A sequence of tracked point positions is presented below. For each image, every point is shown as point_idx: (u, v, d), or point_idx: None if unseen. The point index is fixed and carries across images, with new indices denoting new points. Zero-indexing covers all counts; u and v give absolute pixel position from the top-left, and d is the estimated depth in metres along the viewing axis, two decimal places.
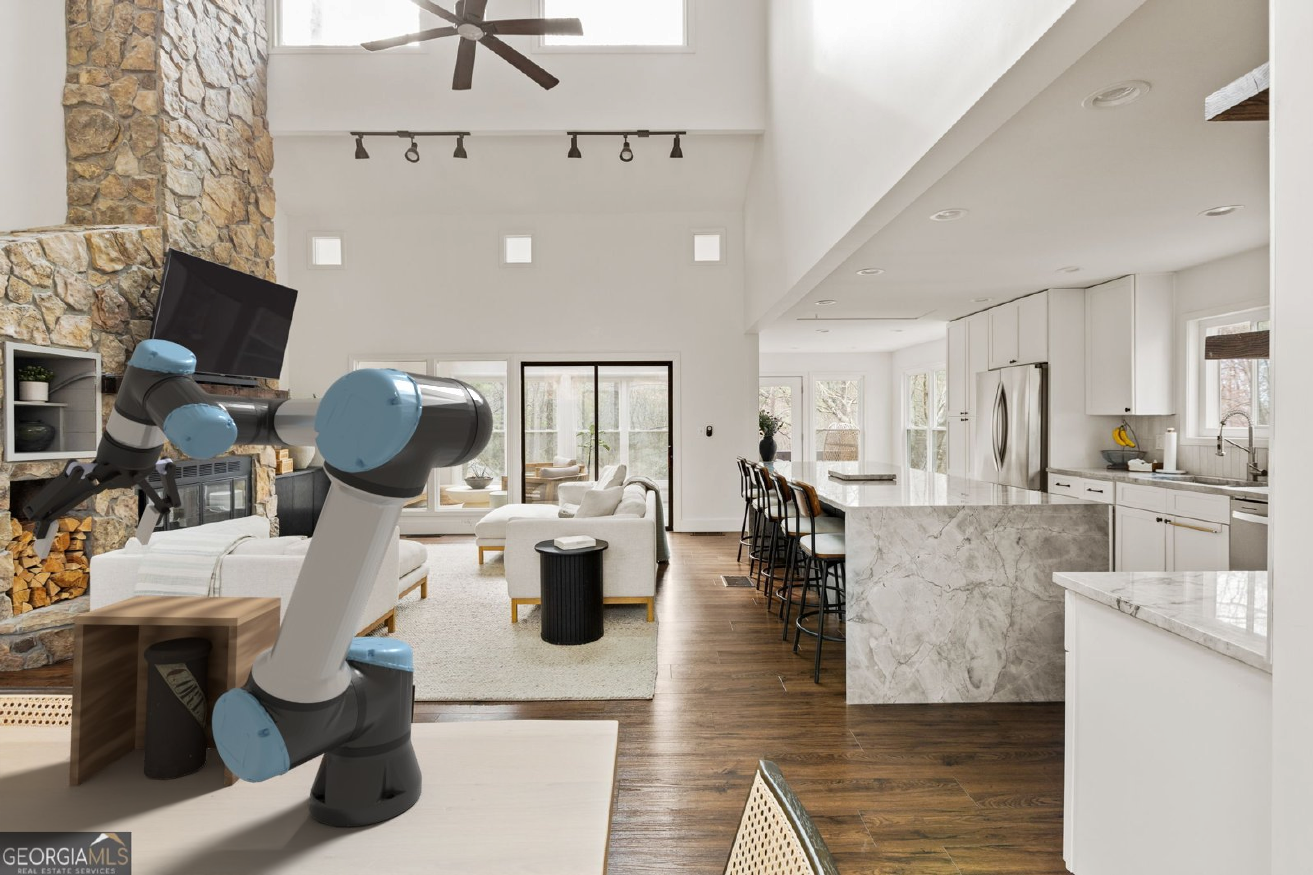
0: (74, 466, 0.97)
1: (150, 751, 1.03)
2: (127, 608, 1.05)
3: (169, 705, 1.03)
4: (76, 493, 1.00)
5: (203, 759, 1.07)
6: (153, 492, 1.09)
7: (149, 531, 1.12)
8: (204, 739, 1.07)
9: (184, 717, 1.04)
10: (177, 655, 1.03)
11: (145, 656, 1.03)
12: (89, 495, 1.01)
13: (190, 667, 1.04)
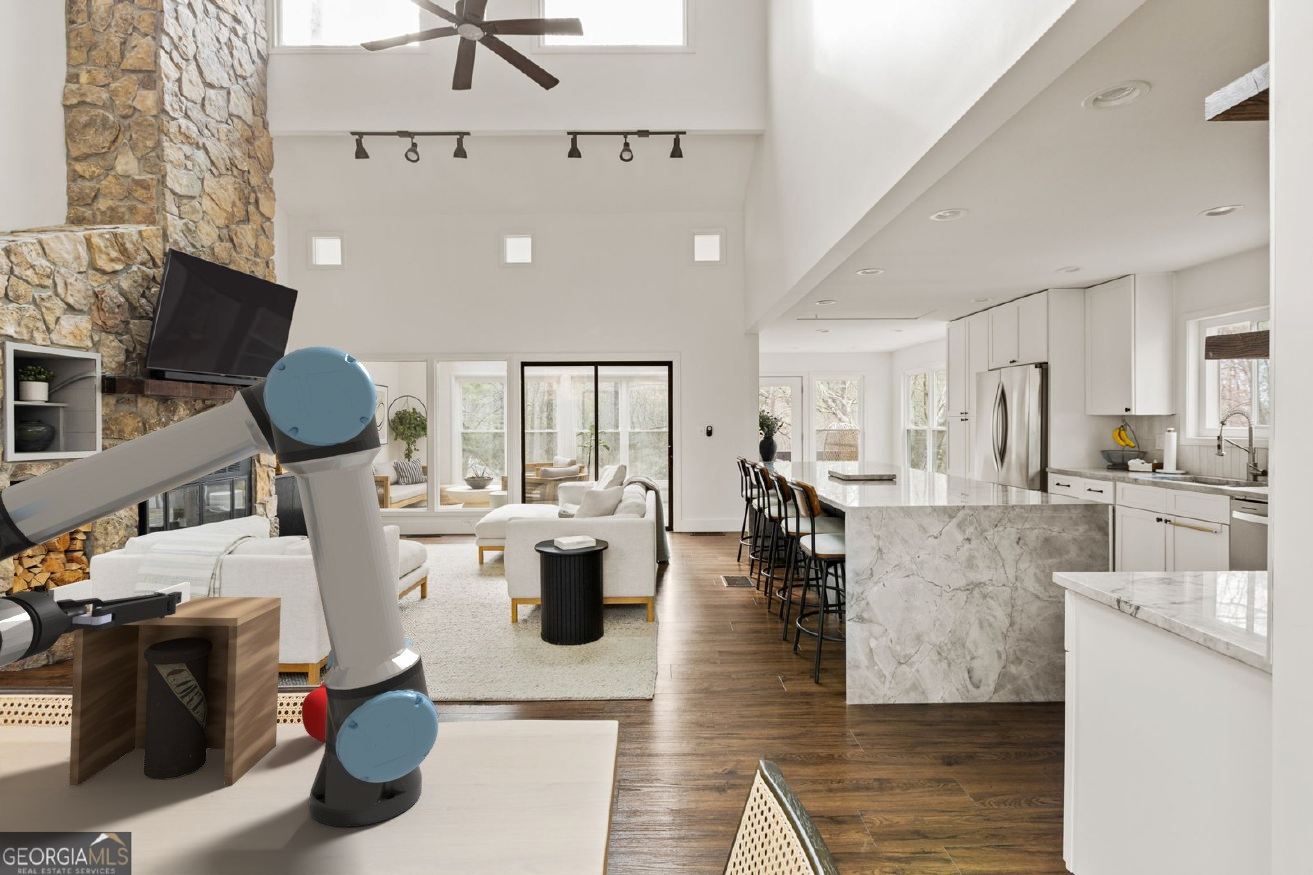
0: (98, 617, 0.81)
1: (150, 751, 1.03)
2: None
3: (169, 705, 1.03)
4: None
5: (203, 759, 1.07)
6: None
7: (74, 583, 0.94)
8: (204, 739, 1.07)
9: (184, 717, 1.04)
10: (177, 655, 1.03)
11: (145, 656, 1.03)
12: (106, 600, 0.86)
13: (190, 667, 1.04)
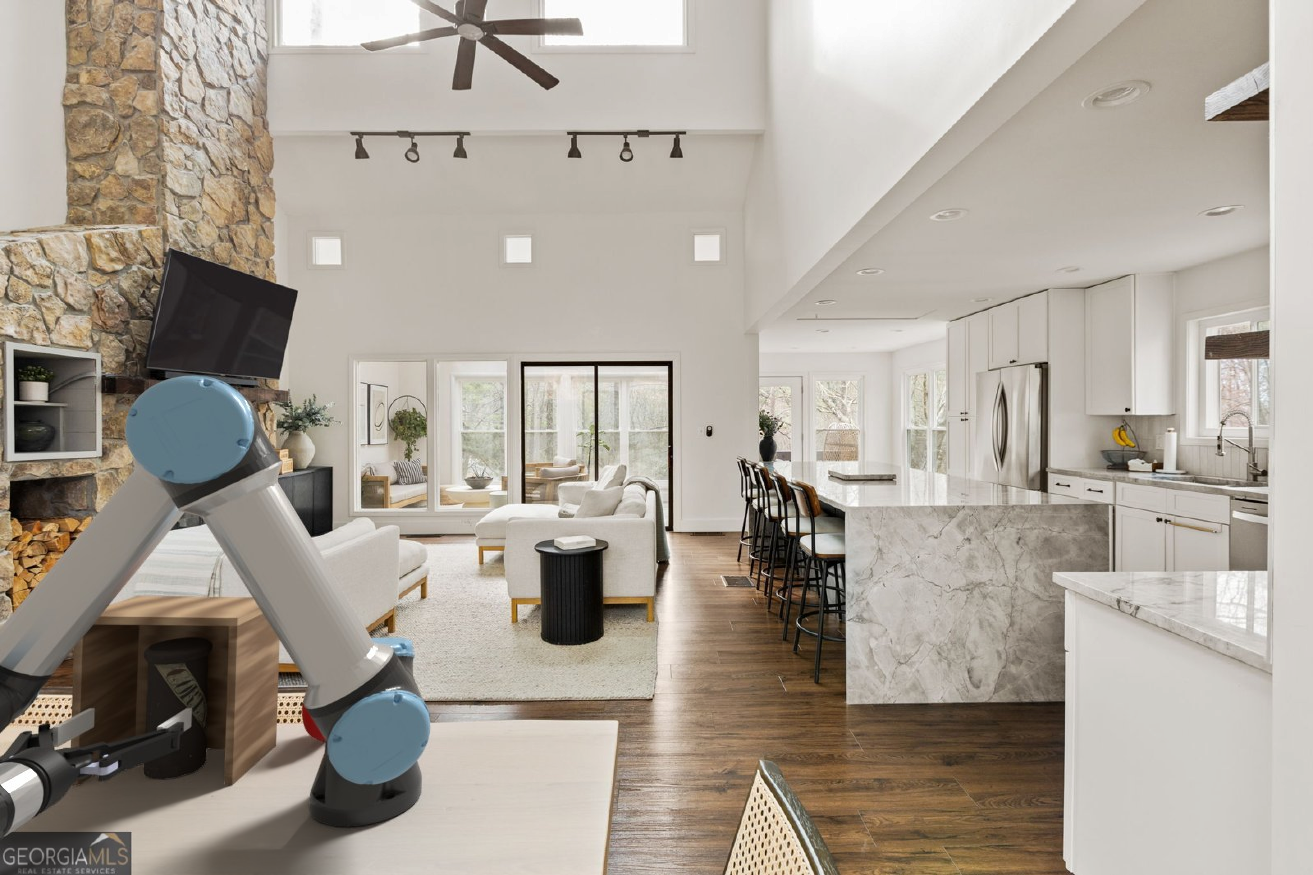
0: (106, 767, 0.83)
1: None
2: (127, 608, 1.05)
3: (169, 705, 1.03)
4: (122, 749, 0.88)
5: (203, 759, 1.07)
6: (42, 742, 0.88)
7: (77, 716, 0.96)
8: (204, 739, 1.07)
9: None
10: (176, 655, 1.03)
11: (145, 656, 1.03)
12: (111, 743, 0.88)
13: (190, 667, 1.04)
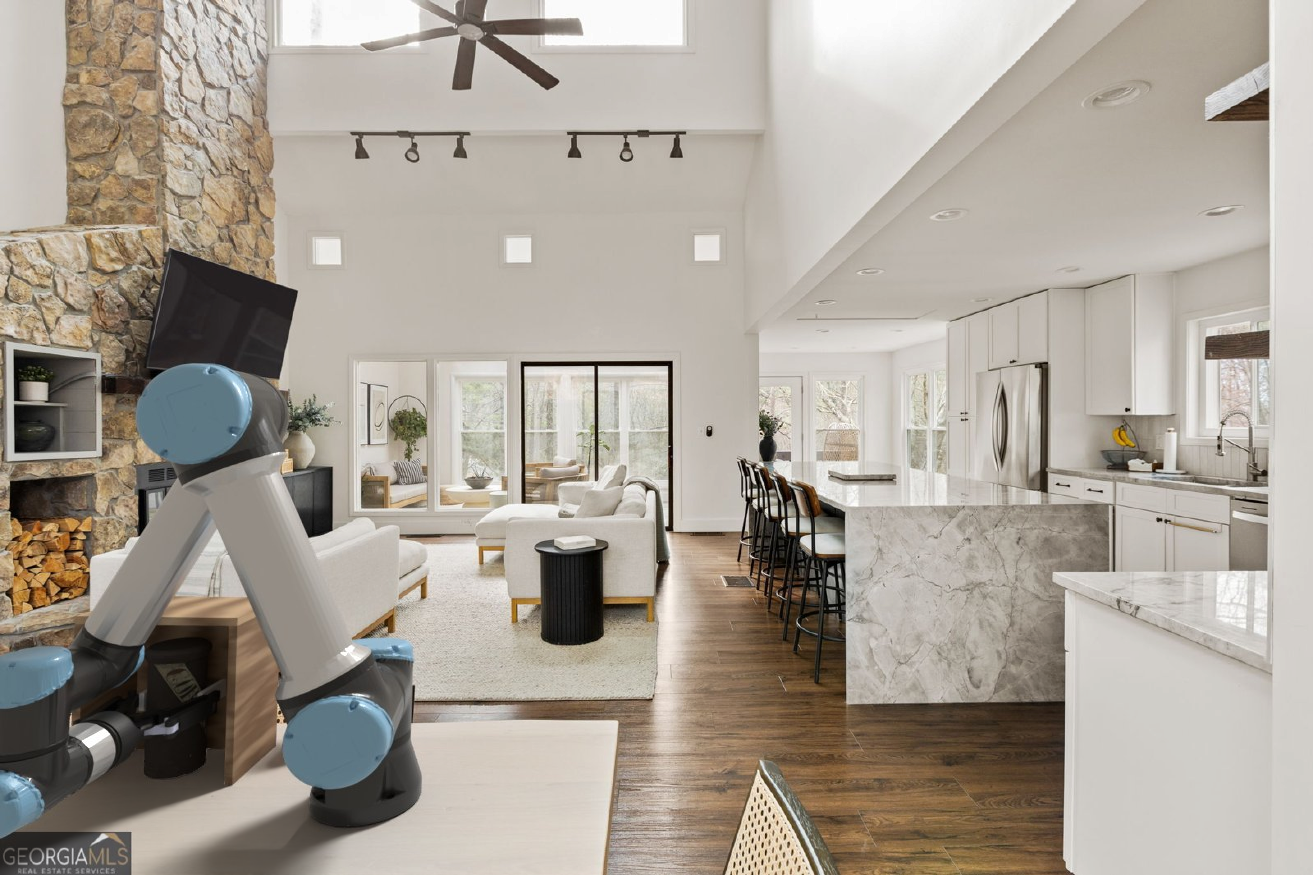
0: (172, 727, 0.95)
1: (150, 751, 1.03)
2: None
3: (169, 705, 1.03)
4: (174, 713, 1.00)
5: (203, 759, 1.07)
6: (122, 707, 1.00)
7: None
8: (204, 739, 1.07)
9: None
10: (176, 655, 1.03)
11: (145, 656, 1.03)
12: (164, 708, 0.99)
13: (190, 667, 1.04)
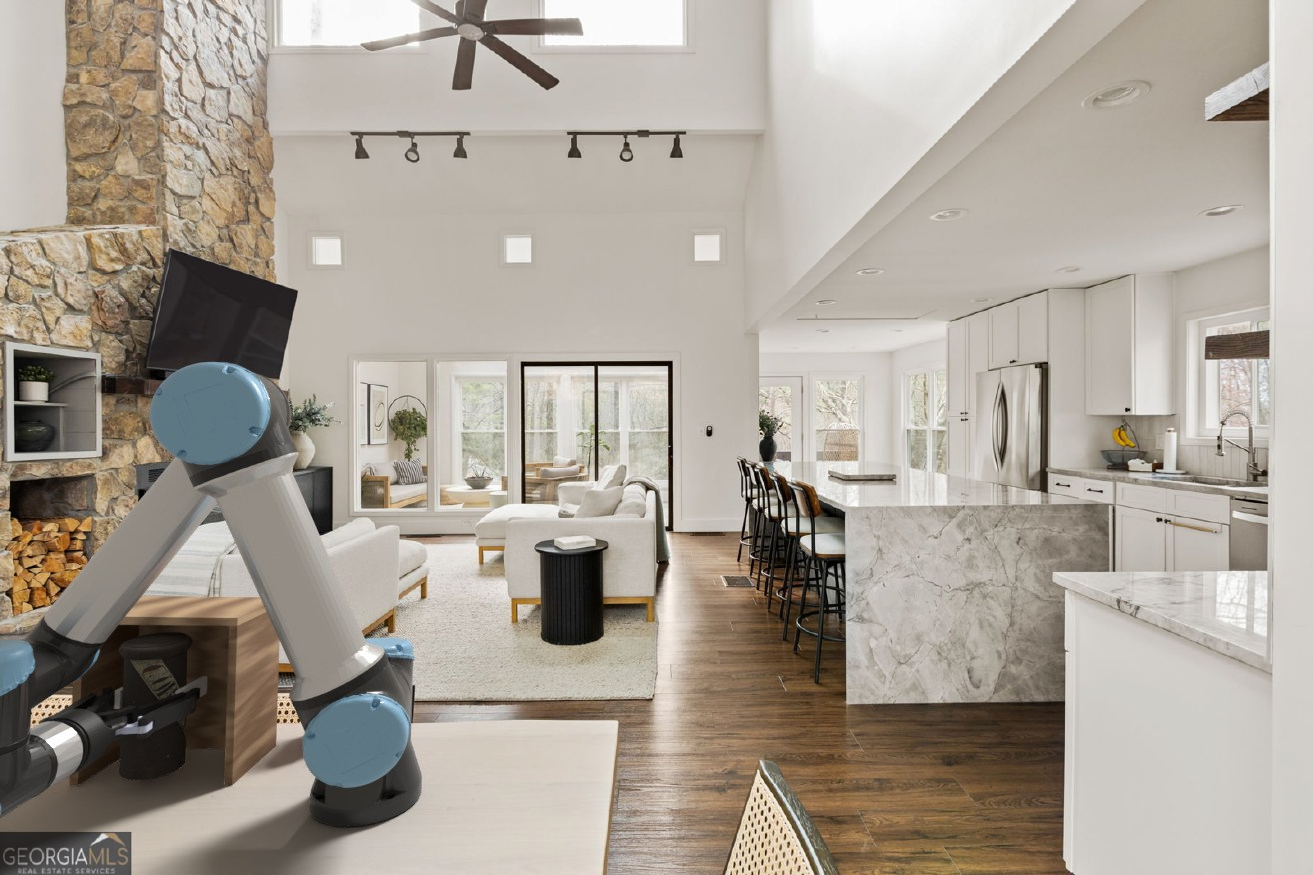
0: (145, 726, 0.90)
1: (126, 751, 0.98)
2: None
3: (145, 703, 0.98)
4: (150, 711, 0.95)
5: (182, 759, 1.02)
6: (95, 704, 0.95)
7: None
8: (183, 738, 1.03)
9: None
10: (153, 651, 0.98)
11: (120, 651, 0.99)
12: (139, 707, 0.95)
13: (167, 663, 1.00)
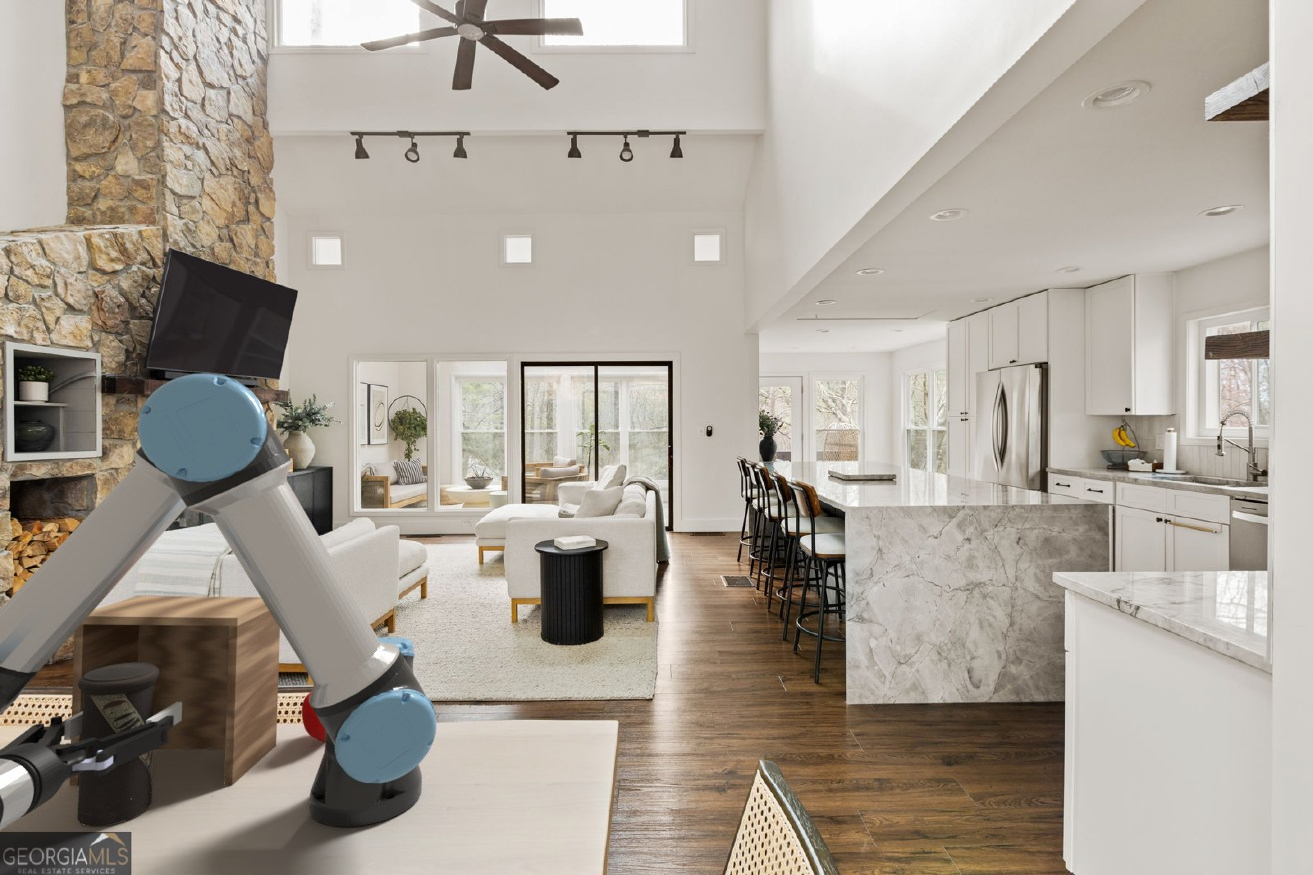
0: (103, 762, 0.82)
1: (84, 794, 0.90)
2: (127, 608, 1.05)
3: None
4: (114, 744, 0.87)
5: (147, 801, 0.94)
6: (46, 736, 0.87)
7: None
8: (148, 779, 0.95)
9: None
10: (115, 685, 0.90)
11: (79, 686, 0.91)
12: (102, 738, 0.87)
13: (131, 698, 0.92)
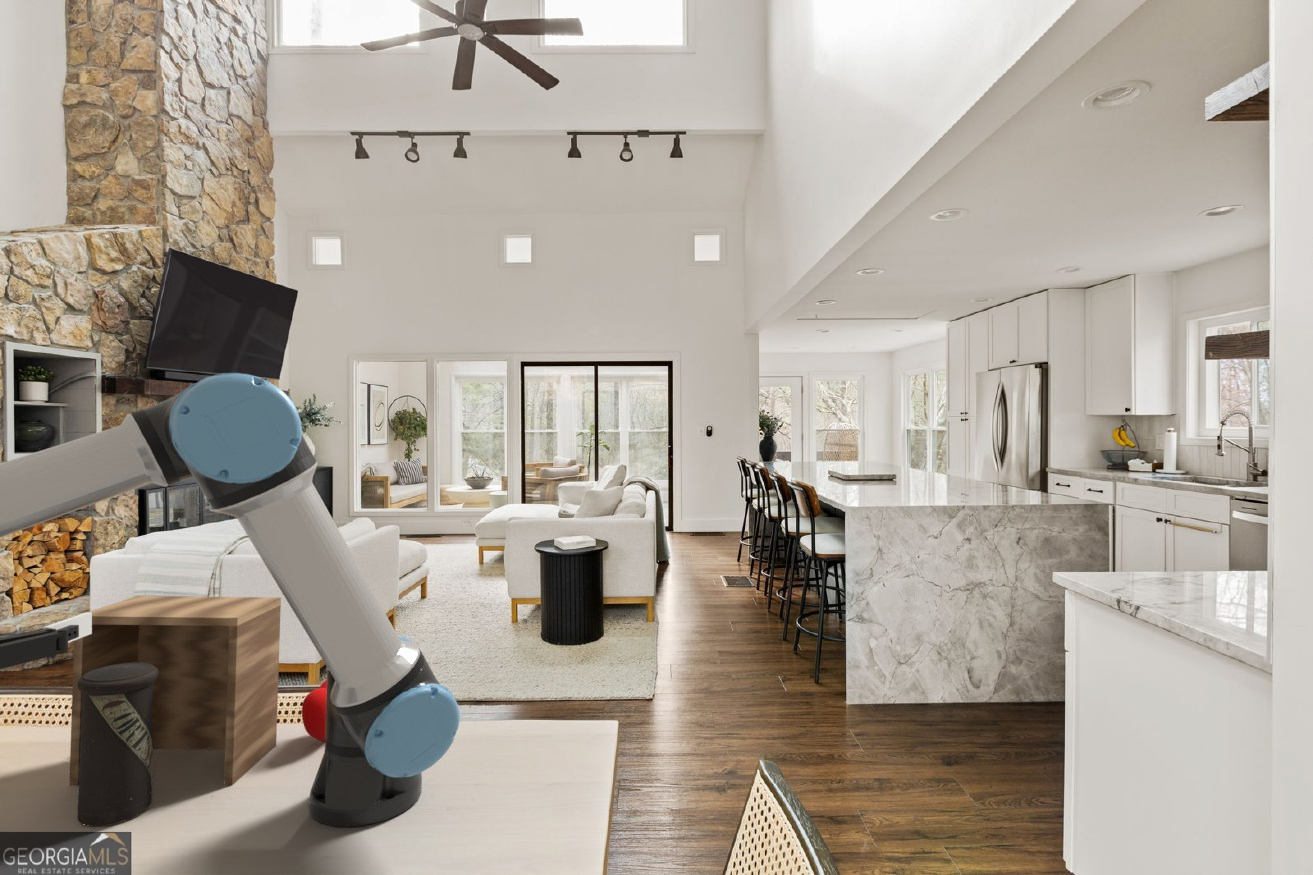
0: None
1: (84, 794, 0.90)
2: (127, 608, 1.05)
3: (106, 742, 0.90)
4: None
5: (147, 801, 0.94)
6: None
7: None
8: (148, 779, 0.95)
9: (124, 755, 0.91)
10: (114, 685, 0.90)
11: (78, 686, 0.91)
12: None
13: (130, 698, 0.92)
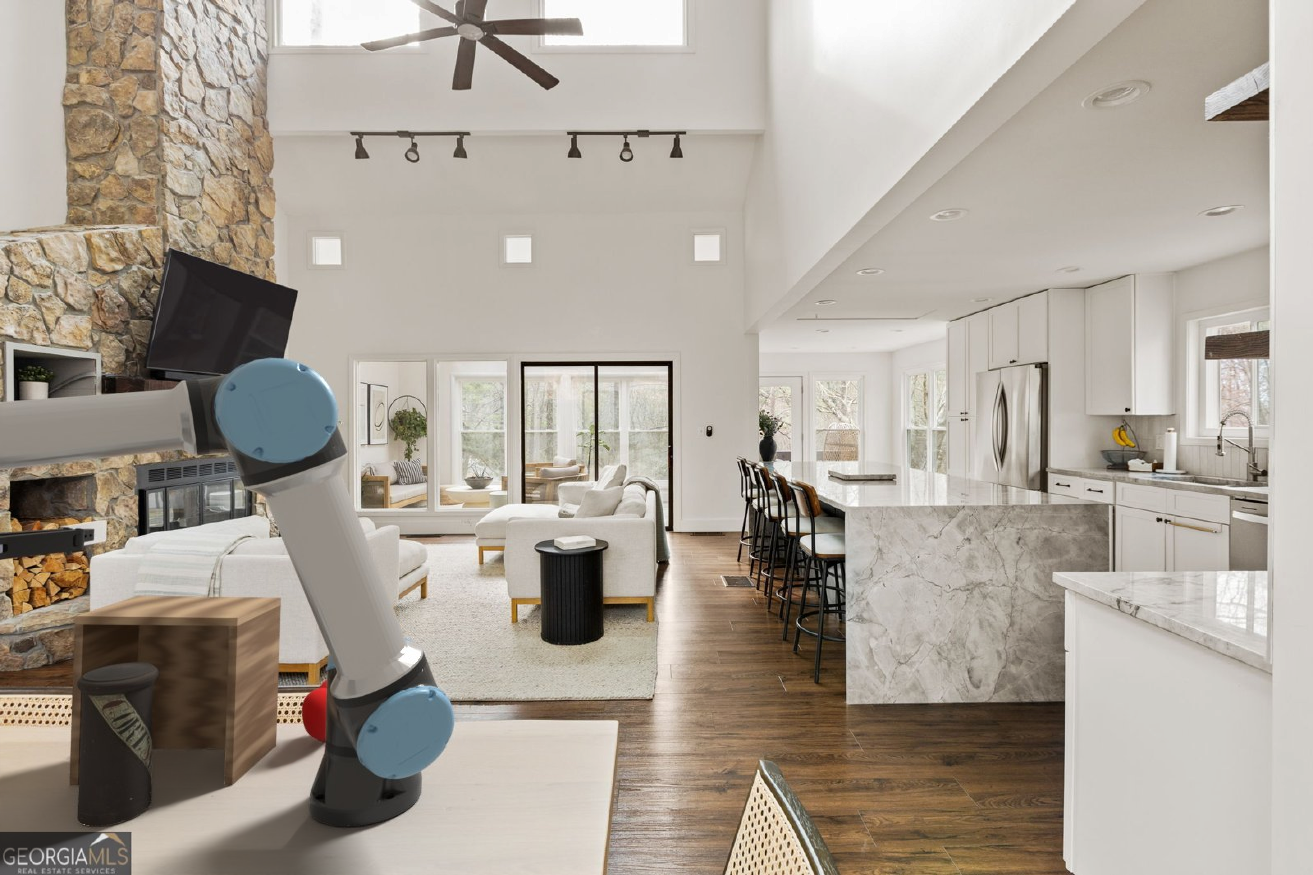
0: None
1: (84, 794, 0.90)
2: (127, 608, 1.05)
3: (105, 742, 0.90)
4: None
5: (147, 801, 0.94)
6: None
7: None
8: (148, 779, 0.95)
9: (123, 754, 0.91)
10: (114, 685, 0.90)
11: (78, 686, 0.91)
12: None
13: (130, 698, 0.92)
